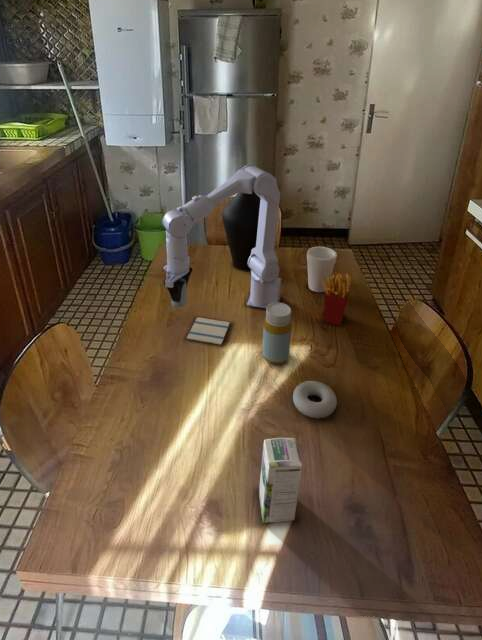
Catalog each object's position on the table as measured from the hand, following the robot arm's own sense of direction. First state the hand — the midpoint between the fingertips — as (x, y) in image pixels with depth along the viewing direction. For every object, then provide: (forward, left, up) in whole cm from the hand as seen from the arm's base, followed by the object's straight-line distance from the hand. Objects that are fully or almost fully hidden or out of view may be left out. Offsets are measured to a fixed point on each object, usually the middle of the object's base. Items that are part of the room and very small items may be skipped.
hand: (179, 296), depth 124 cm
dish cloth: (-9, +1, -9) cm, 13 cm away
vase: (-11, -40, -10) cm, 42 cm away
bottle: (-29, +7, -10) cm, 32 cm away
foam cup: (-38, -31, -10) cm, 50 cm away
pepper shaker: (0, 0, -2) cm, 2 cm away
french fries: (-43, -15, -10) cm, 46 cm away
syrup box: (-35, +47, -10) cm, 60 cm away
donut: (-40, +21, -10) cm, 46 cm away
